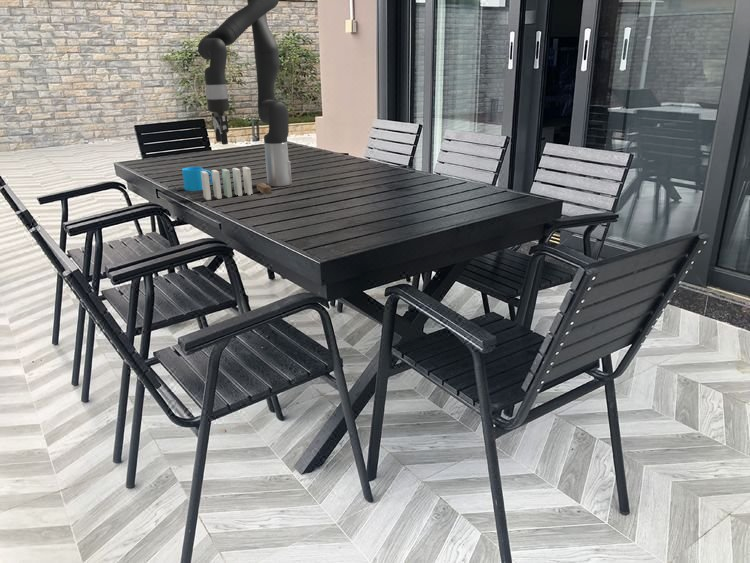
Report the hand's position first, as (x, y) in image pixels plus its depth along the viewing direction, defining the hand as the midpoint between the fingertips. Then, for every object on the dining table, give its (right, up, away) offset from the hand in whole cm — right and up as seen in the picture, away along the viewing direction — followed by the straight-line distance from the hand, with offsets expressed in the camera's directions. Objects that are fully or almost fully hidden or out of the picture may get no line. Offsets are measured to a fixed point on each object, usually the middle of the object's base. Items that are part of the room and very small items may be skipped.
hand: (222, 143), depth 228 cm
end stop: (+13, -16, +14) cm, 25 cm away
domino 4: (+4, -18, +9) cm, 21 cm away
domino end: (+8, -17, +11) cm, 22 cm away
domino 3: (+1, -19, +7) cm, 20 cm away
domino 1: (-6, -20, +4) cm, 21 cm away
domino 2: (-3, -19, +6) cm, 20 cm away
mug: (-15, -14, +22) cm, 30 cm away
